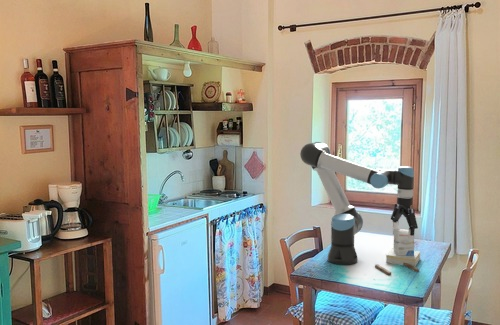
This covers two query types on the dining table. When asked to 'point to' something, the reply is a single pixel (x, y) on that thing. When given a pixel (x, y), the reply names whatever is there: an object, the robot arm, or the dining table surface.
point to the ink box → (402, 242)
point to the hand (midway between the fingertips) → (402, 237)
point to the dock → (402, 258)
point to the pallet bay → (390, 272)
